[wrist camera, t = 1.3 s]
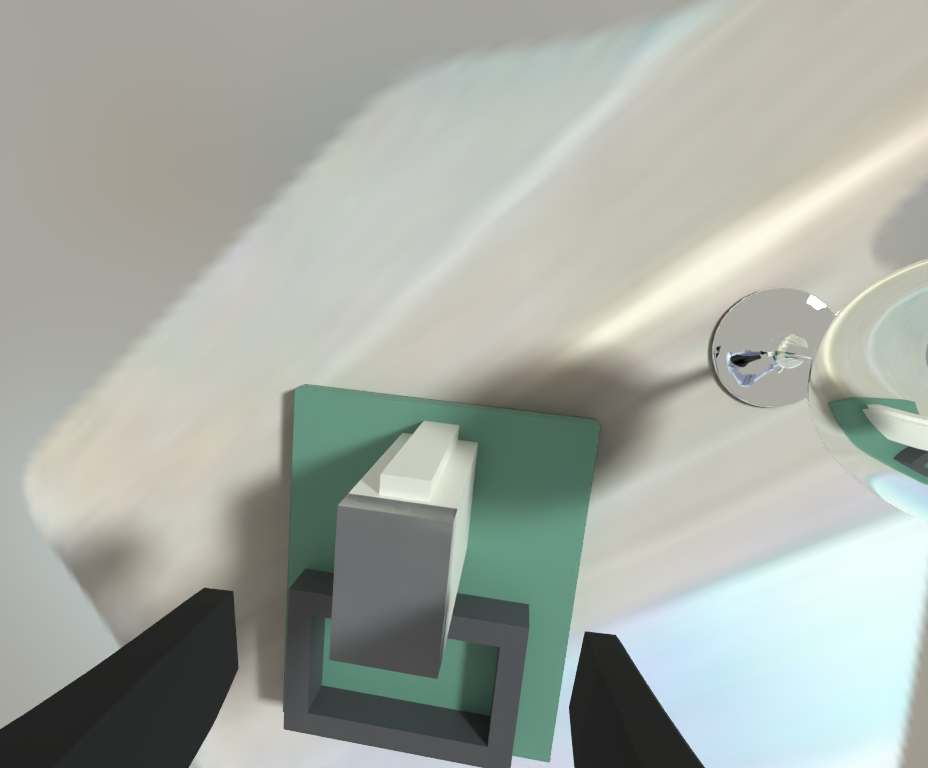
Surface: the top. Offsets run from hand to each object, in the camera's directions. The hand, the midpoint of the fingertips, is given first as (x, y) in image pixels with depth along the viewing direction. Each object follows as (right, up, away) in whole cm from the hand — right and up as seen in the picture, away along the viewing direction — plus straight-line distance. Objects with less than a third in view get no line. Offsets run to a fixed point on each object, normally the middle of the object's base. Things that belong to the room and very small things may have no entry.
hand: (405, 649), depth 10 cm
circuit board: (0, -3, +11) cm, 12 cm away
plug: (0, +1, +10) cm, 10 cm away
